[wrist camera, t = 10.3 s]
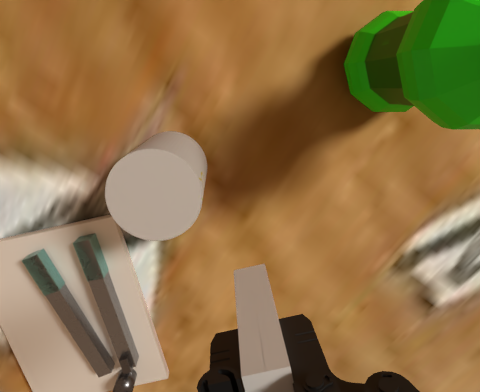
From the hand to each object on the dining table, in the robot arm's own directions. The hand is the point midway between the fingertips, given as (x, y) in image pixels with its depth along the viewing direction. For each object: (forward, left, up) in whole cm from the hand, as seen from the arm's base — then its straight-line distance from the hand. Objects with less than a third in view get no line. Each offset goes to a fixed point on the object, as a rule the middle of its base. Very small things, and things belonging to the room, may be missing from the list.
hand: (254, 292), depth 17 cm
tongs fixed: (+14, -19, -26) cm, 36 cm away
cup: (-2, -7, -27) cm, 28 cm away
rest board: (+14, -24, -26) cm, 38 cm away
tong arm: (+13, -23, -25) cm, 36 cm away
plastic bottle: (-8, +18, -27) cm, 33 cm away
